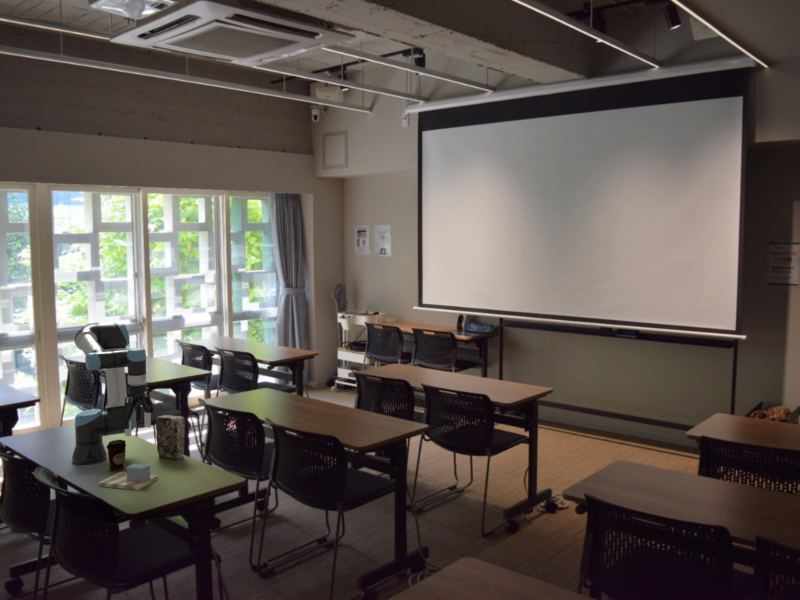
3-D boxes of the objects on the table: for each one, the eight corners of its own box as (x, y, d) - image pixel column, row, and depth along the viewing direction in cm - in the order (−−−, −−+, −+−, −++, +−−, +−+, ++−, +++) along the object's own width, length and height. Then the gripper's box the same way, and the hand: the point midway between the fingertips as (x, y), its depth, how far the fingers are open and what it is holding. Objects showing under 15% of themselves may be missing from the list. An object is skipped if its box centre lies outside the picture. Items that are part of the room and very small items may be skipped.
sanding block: (126, 480, 286) (126, 467, 285) (134, 477, 291) (133, 463, 290) (143, 482, 284) (142, 468, 283) (150, 478, 289) (150, 465, 288)
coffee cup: (131, 467, 307) (130, 440, 306) (118, 473, 300) (117, 445, 299) (116, 465, 310) (115, 438, 309) (103, 471, 302) (102, 443, 301)
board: (98, 485, 284) (98, 482, 284) (120, 475, 298) (120, 471, 297) (138, 490, 279) (138, 486, 279) (158, 478, 293) (157, 475, 293)
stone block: (186, 456, 324) (185, 415, 323) (178, 460, 318) (177, 419, 316) (163, 454, 328) (162, 413, 327) (154, 458, 321) (153, 417, 320)
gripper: (125, 390, 279) (127, 440, 281) (161, 378, 303) (162, 424, 305) (110, 389, 281) (111, 438, 283) (147, 377, 305) (148, 422, 307)
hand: (138, 431), depth 294 cm, fingers open, 13 cm apart
